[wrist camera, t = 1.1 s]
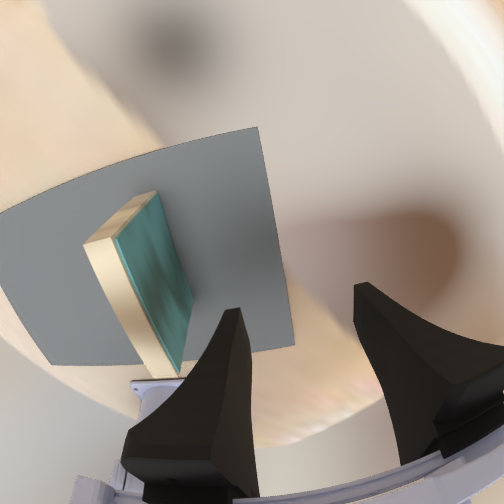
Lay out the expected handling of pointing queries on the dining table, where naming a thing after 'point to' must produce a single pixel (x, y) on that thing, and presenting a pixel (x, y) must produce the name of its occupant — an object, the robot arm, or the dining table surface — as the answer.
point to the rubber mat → (184, 238)
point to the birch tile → (144, 282)
